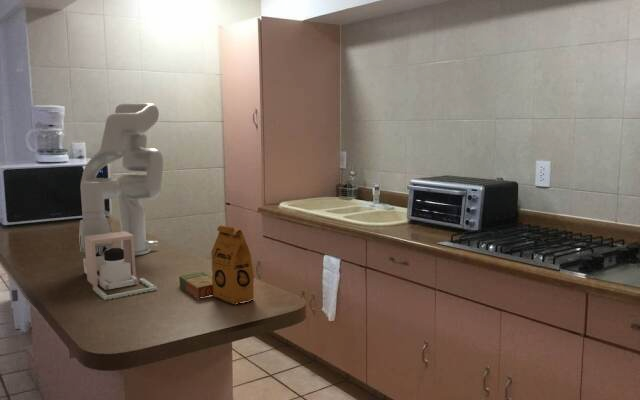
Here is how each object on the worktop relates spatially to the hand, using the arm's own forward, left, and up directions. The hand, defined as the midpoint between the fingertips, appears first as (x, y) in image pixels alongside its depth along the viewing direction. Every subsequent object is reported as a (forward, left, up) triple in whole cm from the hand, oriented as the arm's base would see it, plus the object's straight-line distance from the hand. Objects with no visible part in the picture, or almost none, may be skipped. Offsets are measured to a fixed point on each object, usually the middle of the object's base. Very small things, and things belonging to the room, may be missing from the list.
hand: (97, 265), depth 203 cm
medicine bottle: (0, +22, -2) cm, 22 cm away
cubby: (0, +17, -1) cm, 17 cm away
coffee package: (-23, +61, -2) cm, 65 cm away
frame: (0, +31, -1) cm, 31 cm away
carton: (-19, +46, -2) cm, 50 cm away
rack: (0, +15, -1) cm, 15 cm away
